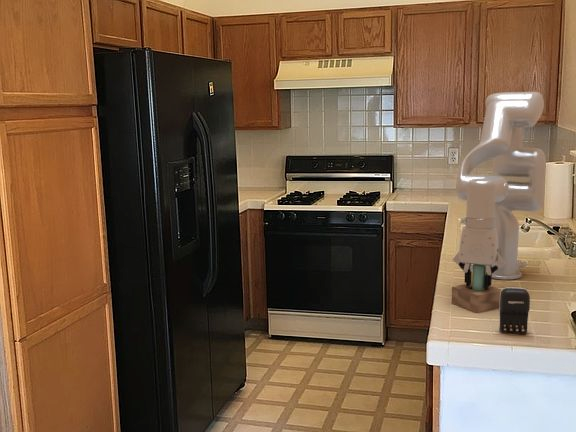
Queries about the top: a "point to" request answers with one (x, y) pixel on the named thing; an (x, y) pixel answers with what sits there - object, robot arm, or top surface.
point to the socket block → (476, 298)
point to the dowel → (478, 277)
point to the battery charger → (514, 310)
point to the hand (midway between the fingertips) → (477, 285)
